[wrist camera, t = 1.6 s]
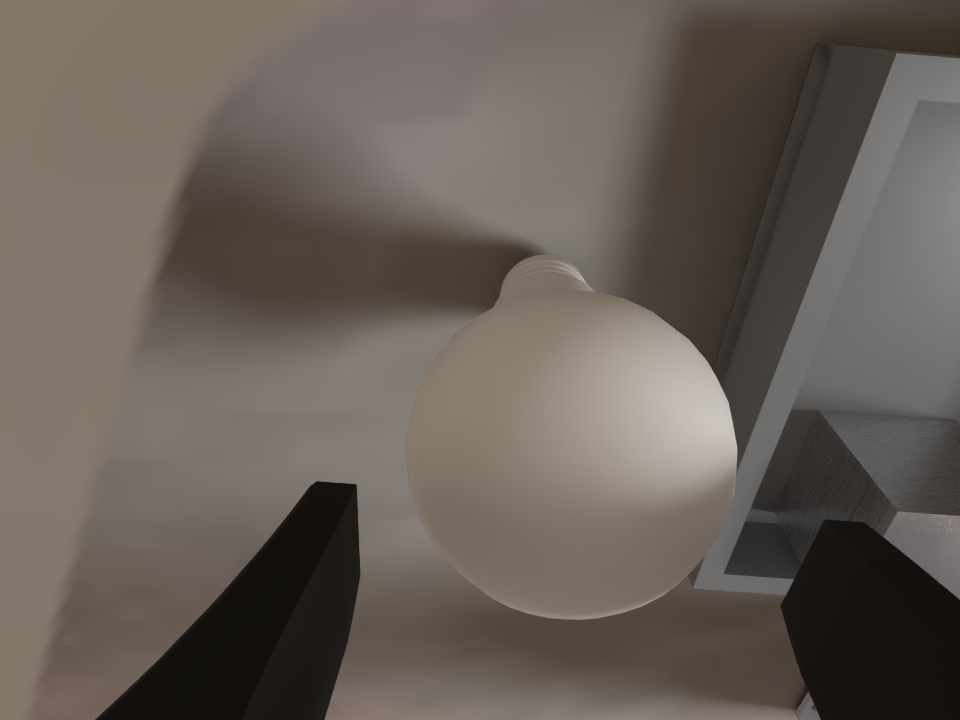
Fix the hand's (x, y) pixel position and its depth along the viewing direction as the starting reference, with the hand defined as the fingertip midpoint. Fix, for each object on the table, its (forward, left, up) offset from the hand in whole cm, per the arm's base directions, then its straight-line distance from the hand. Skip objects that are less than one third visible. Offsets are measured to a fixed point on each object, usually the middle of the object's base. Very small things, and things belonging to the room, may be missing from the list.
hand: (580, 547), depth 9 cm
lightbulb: (0, 0, -11) cm, 11 cm away
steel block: (-5, -12, -9) cm, 16 cm away
